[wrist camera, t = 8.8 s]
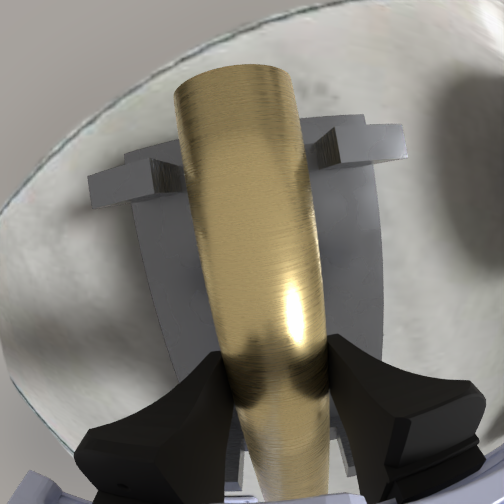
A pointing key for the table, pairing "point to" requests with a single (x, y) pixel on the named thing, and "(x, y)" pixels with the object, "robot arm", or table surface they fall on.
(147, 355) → the table surface
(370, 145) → the corner post stand
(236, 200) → the brass pin
